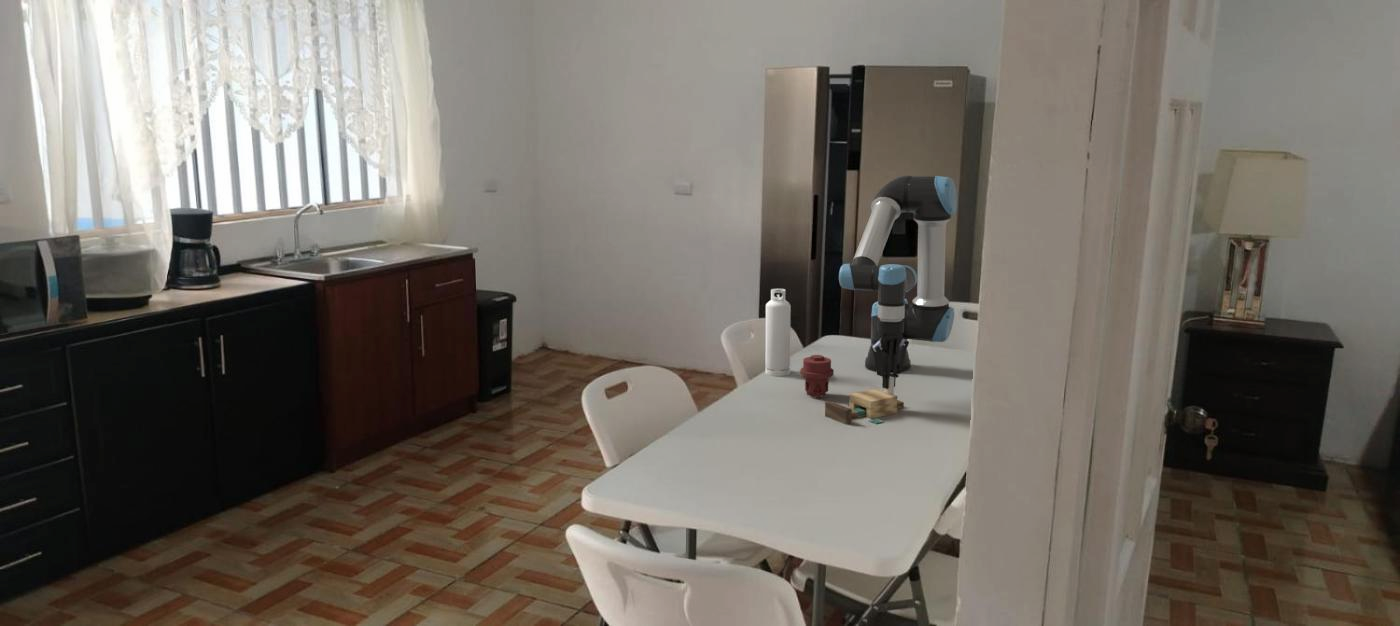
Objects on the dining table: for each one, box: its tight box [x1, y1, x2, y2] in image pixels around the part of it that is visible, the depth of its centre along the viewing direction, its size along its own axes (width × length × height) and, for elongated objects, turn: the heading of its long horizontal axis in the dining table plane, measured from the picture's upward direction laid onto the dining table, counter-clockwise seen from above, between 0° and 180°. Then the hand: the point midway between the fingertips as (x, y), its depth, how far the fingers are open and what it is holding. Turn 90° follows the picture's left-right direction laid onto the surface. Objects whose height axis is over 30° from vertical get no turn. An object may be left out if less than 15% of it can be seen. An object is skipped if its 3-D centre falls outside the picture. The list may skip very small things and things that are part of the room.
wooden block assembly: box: [824, 399, 905, 425], centre depth 278 cm, size 24×18×4 cm
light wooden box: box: [849, 388, 898, 420], centre depth 279 cm, size 10×9×5 cm
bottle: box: [764, 288, 791, 377], centre depth 319 cm, size 8×8×28 cm
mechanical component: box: [799, 354, 834, 399], centre depth 295 cm, size 12×10×10 cm
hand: (888, 398), depth 281 cm, fingers closed
